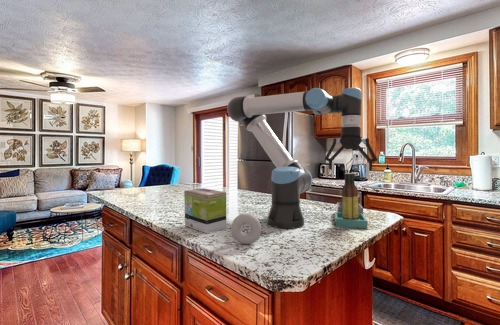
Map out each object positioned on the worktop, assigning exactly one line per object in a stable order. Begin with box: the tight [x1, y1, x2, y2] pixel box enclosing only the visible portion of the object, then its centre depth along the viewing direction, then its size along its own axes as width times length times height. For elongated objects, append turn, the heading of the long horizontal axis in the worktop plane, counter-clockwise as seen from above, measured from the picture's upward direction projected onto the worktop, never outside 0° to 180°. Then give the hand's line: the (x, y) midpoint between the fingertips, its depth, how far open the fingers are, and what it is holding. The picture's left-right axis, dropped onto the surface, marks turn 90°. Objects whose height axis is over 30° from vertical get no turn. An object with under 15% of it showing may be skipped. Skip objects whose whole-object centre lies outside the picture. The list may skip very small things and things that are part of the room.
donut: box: [230, 213, 263, 245], centre depth 85 cm, size 10×4×10 cm, turn 85°
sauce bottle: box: [341, 172, 359, 220], centre depth 109 cm, size 7×6×20 cm
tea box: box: [183, 187, 227, 234], centre depth 104 cm, size 15×10×15 cm, turn 47°
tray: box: [334, 211, 369, 230], centre depth 110 cm, size 12×13×3 cm
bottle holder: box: [336, 202, 364, 215], centre depth 123 cm, size 11×11×5 cm
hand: (349, 178), depth 109 cm, fingers open, 13 cm apart
